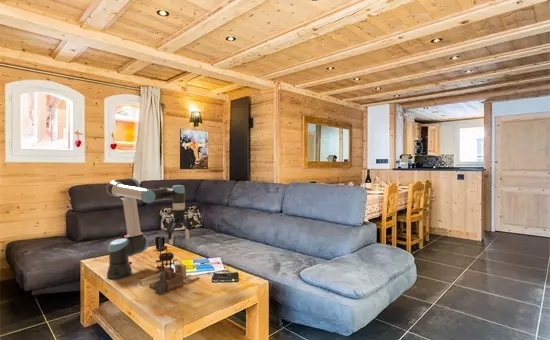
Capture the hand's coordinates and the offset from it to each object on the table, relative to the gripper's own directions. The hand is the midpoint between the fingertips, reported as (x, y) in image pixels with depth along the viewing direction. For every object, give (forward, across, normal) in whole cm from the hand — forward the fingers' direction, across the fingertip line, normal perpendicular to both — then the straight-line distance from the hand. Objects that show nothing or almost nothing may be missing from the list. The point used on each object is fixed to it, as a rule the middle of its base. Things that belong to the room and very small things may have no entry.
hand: (179, 241), depth 203 cm
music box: (+24, 0, +12) cm, 27 cm away
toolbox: (+24, -16, -4) cm, 29 cm away
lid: (+24, 0, -4) cm, 24 cm away
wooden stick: (+15, -27, -8) cm, 32 cm away
